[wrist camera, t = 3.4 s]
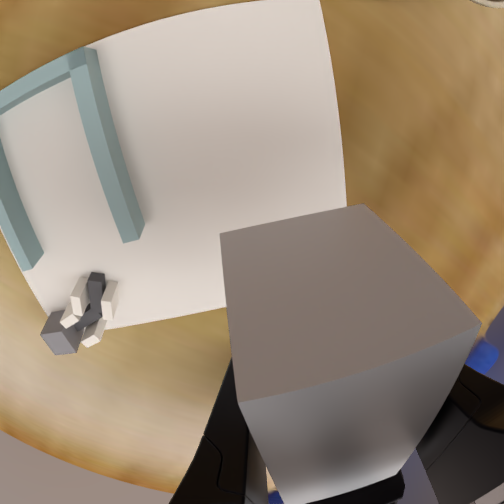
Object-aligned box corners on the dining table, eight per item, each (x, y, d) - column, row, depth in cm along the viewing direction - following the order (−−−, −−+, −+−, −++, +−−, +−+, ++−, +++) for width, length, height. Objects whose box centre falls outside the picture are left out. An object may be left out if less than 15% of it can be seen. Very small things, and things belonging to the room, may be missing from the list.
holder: (96, 49, 13) (83, 46, 11) (145, 224, 18) (139, 239, 17) (-18, 111, 12) (-36, 116, 11) (34, 256, 18) (22, 271, 16)
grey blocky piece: (129, 321, 22) (123, 346, 20) (64, 332, 22) (55, 355, 20) (102, 269, 19) (92, 292, 17) (35, 285, 19) (22, 307, 17)
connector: (363, 203, 8) (482, 323, 4) (350, 405, 14) (383, 490, 9) (219, 233, 8) (237, 402, 4) (272, 425, 14) (291, 517, 9)
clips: (137, 320, 22) (133, 341, 20) (84, 329, 22) (77, 349, 20) (112, 269, 20) (104, 288, 18) (57, 282, 19) (46, 301, 18)
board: (344, 271, 23) (348, 277, 22) (63, 330, 23) (61, 336, 22) (314, 0, 13) (318, -3, 13) (-30, 116, 13) (-37, 118, 12)
